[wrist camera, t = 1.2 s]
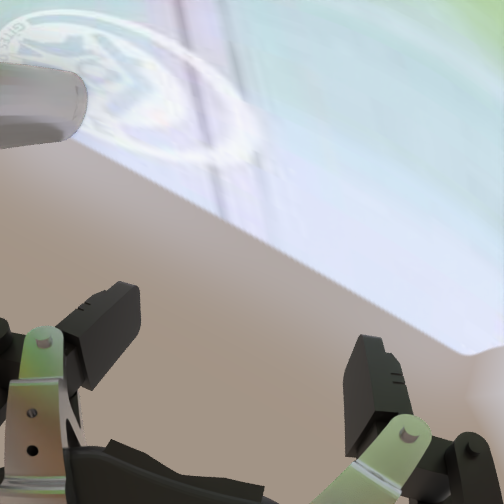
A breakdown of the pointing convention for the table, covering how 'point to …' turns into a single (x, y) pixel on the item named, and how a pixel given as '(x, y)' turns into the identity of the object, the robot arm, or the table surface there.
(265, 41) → the table surface
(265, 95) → the table surface
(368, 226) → the table surface
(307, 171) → the table surface
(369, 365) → the robot arm
